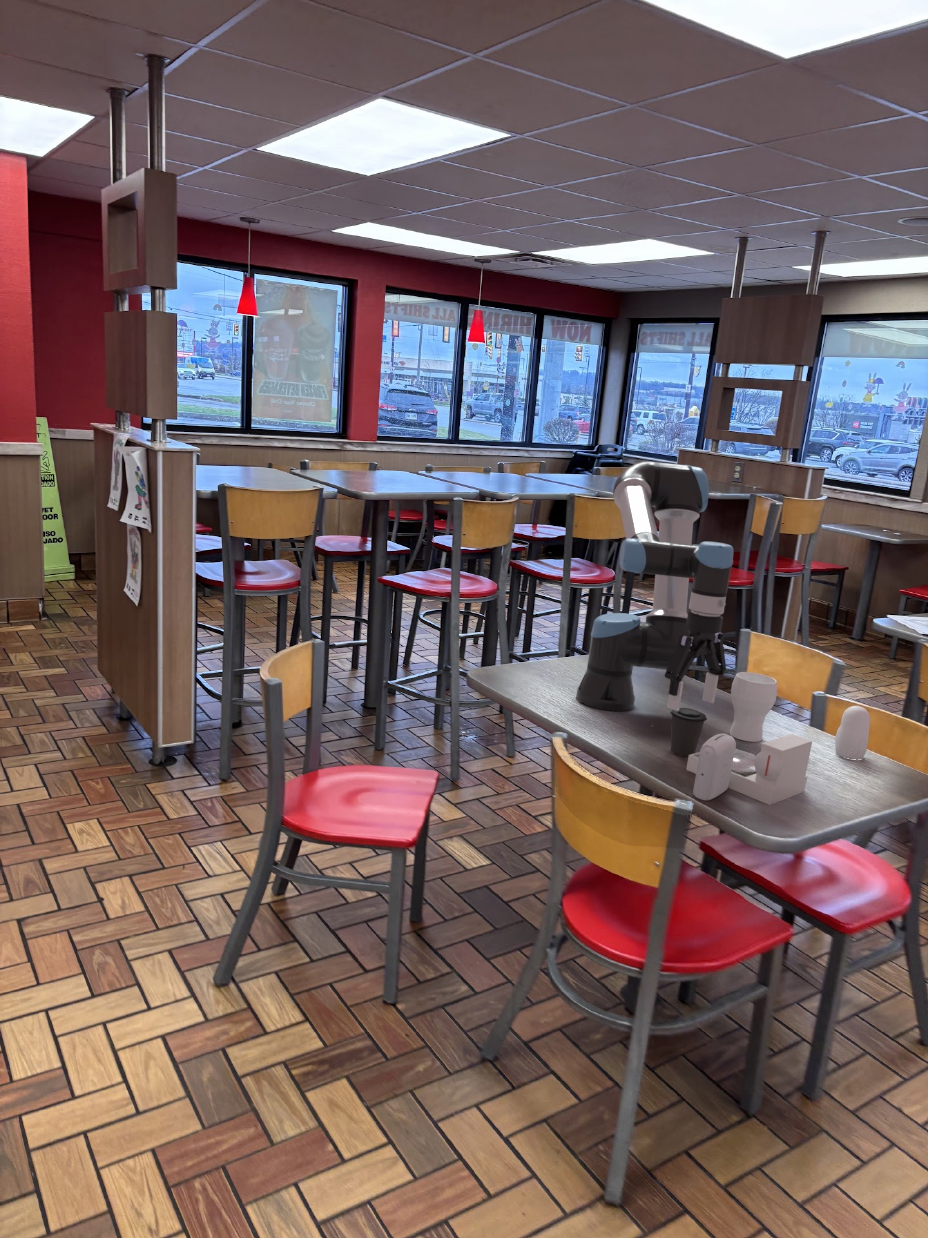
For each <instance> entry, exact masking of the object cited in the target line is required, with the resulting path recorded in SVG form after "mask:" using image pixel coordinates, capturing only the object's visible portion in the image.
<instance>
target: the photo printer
mask: <svg viewBox="0 0 928 1238" xmlns="http://www.w3.org/2000/svg"><path fill="white" fill-rule="evenodd" d="M736 746H737V743H736V740H735V737H733V736H731V735H730V734H727V733H718V734H715V735H713V736H712V737H710V738H708V739H707V740H706V741H705V742H704V743H703V744H702V746H701V747H700V750H699V752H700V754H699V760H698V766H697V772H696V774H695V780H694V785H693V790H692V795H693V796H694V797H696V798H697V799H699V800H702V801H712V800H713V799H715V798H717V797H718V796H720V795H721V794H723V793H725V792H726V791H727V790H728V789H729V788H728V786H729V782H730V776H731V771H732V765H733V759H734V754H735V749H737V747H736Z"/></svg>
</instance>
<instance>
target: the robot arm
mask: <svg viewBox="0 0 928 1238" xmlns="http://www.w3.org/2000/svg"><path fill="white" fill-rule="evenodd" d="M709 494H710V486H709V479H708V475H707V474H706V471H705V470H704V469H703V468H701V467H698V466H692V465H689V464H675V463H665V462H656V461H655V462H654V461H639V462H636V463H633V464H632V465H630V466H628V467H627V468H625V469H624V470H623V471H622V472H621V473H620V474H619V475H618V476H617V478H616V479H615V481H614V483H613V489H612V495H613V500H614V503H615V505H616V507H618V509H619V511H620V515H621V520H622V525H623V530H624V536H625V539H624V540H623V541H622V543H621V546H620V549H619V550H620V553H619V567H620V569H621V570H622V571H625V572H630V573H634V574H647V575H655V576H654V586H653V588H654V590H653V599H652V600H653V602H652V610H651V611H650V612H649V613H648V614H647V615H646V617H645V621H644V622H643V621H641V618H640V616H639V615H636V614H631V613H623V612H622V613H621V612H619V613H618V612H615V613H614V612H613V613H605V614H601V615H599V616H597V617H596V618H595V619H594V621H593V624H592V629H591V632H590V636H591V637H590V638H591V639H590V644H589V653H588V658H587V659H588V660H587V666H586V671H585V673H584V675H583V677H582V679H581V680H580V681H581V682H580V683H579V686H578V687H577V689H576V700H577V699H578V700H579V701H581V702H582V703H581V702H580V703H581V704H583V703H584V704H583V705H585V706H587V705H588V707H591V708H595V709H598V710H604V711H611V712H612V711H613V712H615V711H618V712H621V711H624V712H625V711H629V710H632V709H633V708H634V707H635V703H636V700H635V699H636V696H635V694H634V692H635V691H634V685H633V680H632V677H633V669H634V667H637V668H647V669H656V670H666V671H665V673H664V677H665V678H666V679H668V680H670V681H669V682H670V683H669V688H668V689H669V690H668V698H667V703H666V704H667V705H666V708H667V709H670V710H675V711H679V708H680V706H681V701H682V694H683V686H684V681H682V680H683V678H684V677H685V675H686V674H687V673H688V670H689V669H690V667H691V666H692V664H693V663H694V661H695V659H697V658H698V657H699V656H702V655H703V658H704V660H705V664H706V666H707V668H708V672H706V675H705V681H704V688H703V693H702V697H701V700H702V701H704V702H706V703H711V704H715V699H716V692H717V687H718V681H719V676H724V674H725V671H727V663H726V655H725V648H724V635H725V634H724V633H722V627H723V626H722V625H723V619H724V618H723V616H722V615H723V614H724V613H725V606H726V605H727V604H726V601H727V600H726V599H727V594H728V588H729V584H730V578H731V573H732V572H731V571H732V567H733V564H734V559H733V558H734V547H733V546H732V545H731V544H727V543H723V542H717V541H701V542H700V543H699V544H698V543H697V544H692V542H693V541H692V540H693V530H694V529H693V528H694V522H696V521H697V520H698V519H699V518H700V515H701V513H703V512H705V510H706V509H707V506H708V504H709V503H708V502H709V501H708V500H709V496H710V495H709ZM652 508H654V513H653V509H652ZM655 518H657V520H658V521H659V525H658V526H659V528H658V529H657V525H656V521H655ZM690 579H693V580H692V581H693V582H692V586H691V587H692V588H691V592H690V597H689V604H688V595H689V581H690ZM687 607H688V609H689V610H690V611H688V612H687ZM578 700H577V701H578ZM579 701H578V702H579Z"/></svg>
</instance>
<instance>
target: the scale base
mask: <svg viewBox="0 0 928 1238" xmlns="http://www.w3.org/2000/svg"><path fill="white" fill-rule="evenodd" d="M812 744H813V740H810V739H807V738H805V737H802V736H799V735H796V734H793V733H791V734H789V735H785V736H782V737H781V736H780V737H779V738H775V739H771V740H768V741H766V742H762V743H761V748H760V752H758V753H757V754H756V757H755V760H754V766H755V770H756V772H757V773H756V774H736V773H734V772H731V776H730V782H729V786H728V789H731V790H732V791H735V792H738V793H741V794H742V795H745V796H747V797H750V798H752V799H754V800H756V801H760V802H761V803H763V804H766V805H768V806H771V805H773V804H777V803H779V802H781V801H783V800H786V799H789V798H791V797H794V796H797V795H798V794H801V793H804V792H806V786H807V782H808V781H807V780H808V776H807V770H808V766H809V759H810V754H811V749H812V746H813V745H812ZM699 754H700V751H698V752H695V753H694V754H691V755H689V757H688V758H687V763H686V768H685V769H686V771H688V772H691V773H693V774H695V775H696V772H697V766H698V760H699Z"/></svg>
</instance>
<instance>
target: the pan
mask: <svg viewBox="0 0 928 1238" xmlns="http://www.w3.org/2000/svg"><path fill="white" fill-rule="evenodd" d="M756 756H757V754H756V755H755V754H753V753H751V752H748V751H744V750H741V749H737V748H735V754H734V759H733V765H732V771H731V772H734V773H736V774H756V773H757V772H756V770H755V766H754V760H755V757H756Z"/></svg>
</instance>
